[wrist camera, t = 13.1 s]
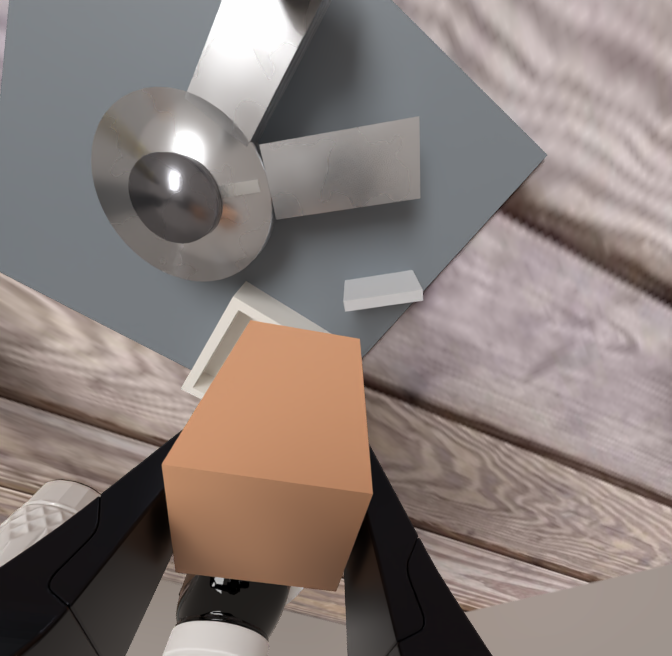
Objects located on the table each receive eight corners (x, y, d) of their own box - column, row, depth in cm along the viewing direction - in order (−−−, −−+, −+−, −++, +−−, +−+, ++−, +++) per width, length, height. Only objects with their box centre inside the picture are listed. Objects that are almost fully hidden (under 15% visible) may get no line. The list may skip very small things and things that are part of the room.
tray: (293, 417, 24) (287, 441, 22) (196, 368, 22) (180, 389, 20) (354, 347, 21) (354, 368, 19) (246, 281, 19) (233, 296, 17)
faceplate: (300, 423, 25) (294, 457, 22) (-11, 262, 19) (-74, 281, 16) (544, 154, 15) (588, 155, 12) (50, -334, 9) (-83, -548, 7)
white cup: (131, 509, 33) (50, 639, 24) (83, 526, 35) (-7, 650, 26) (68, 466, 29) (-52, 597, 21) (20, 487, 32) (-107, 614, 23)
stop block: (245, 404, 13) (175, 572, 8) (250, 319, 11) (161, 464, 6) (339, 418, 13) (336, 591, 8) (359, 338, 11) (372, 493, 6)
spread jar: (240, 453, 27) (172, 630, 17) (351, 495, 29) (349, 673, 19) (203, 517, 33) (136, 680, 23) (299, 548, 35) (276, 709, 25)
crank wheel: (154, 281, 17) (104, 313, 14) (7, -39, 11) (-147, -125, 8) (416, 247, 16) (434, 274, 12) (408, -150, 10) (440, -322, 6)
